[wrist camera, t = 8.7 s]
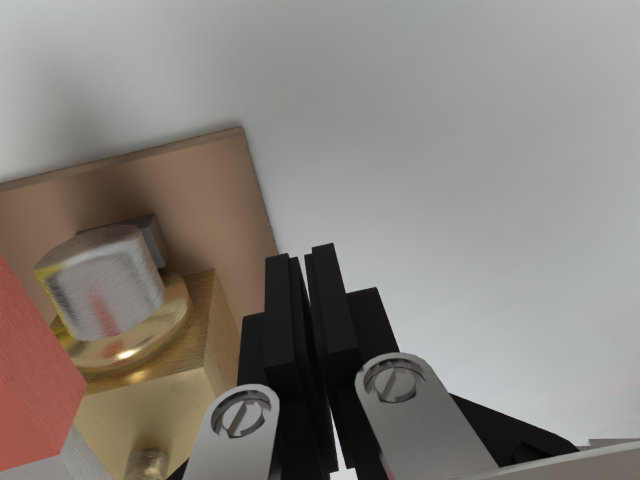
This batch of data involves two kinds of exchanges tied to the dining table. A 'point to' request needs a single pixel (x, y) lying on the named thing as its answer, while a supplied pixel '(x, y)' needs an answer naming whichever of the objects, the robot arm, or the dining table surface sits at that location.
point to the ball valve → (139, 344)
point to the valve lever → (38, 396)
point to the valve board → (146, 198)
